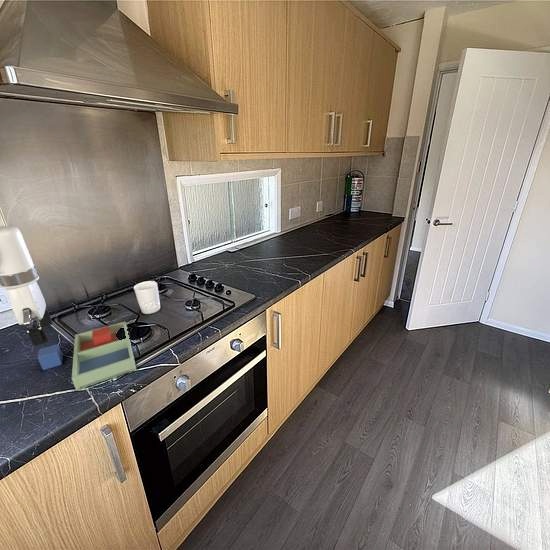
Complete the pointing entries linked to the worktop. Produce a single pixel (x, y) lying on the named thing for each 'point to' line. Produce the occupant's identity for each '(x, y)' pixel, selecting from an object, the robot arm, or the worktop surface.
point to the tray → (101, 358)
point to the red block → (101, 336)
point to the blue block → (50, 357)
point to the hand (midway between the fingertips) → (43, 334)
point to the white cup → (147, 296)
